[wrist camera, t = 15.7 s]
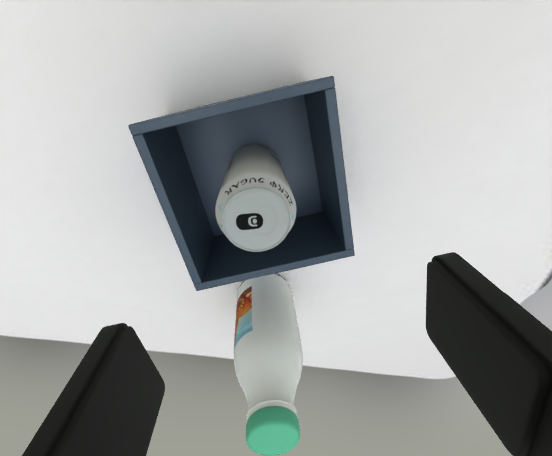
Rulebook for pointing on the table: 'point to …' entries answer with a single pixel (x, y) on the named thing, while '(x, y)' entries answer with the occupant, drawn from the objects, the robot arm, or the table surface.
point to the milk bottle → (268, 363)
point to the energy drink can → (255, 200)
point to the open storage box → (213, 165)
